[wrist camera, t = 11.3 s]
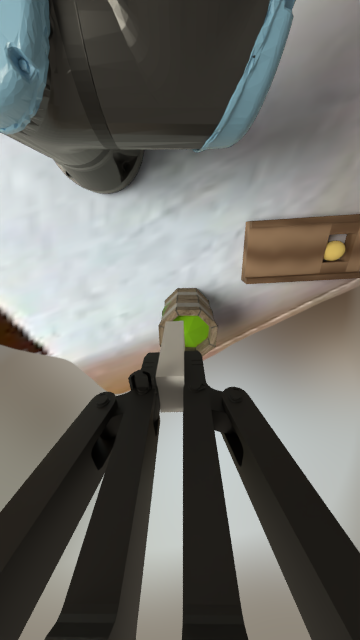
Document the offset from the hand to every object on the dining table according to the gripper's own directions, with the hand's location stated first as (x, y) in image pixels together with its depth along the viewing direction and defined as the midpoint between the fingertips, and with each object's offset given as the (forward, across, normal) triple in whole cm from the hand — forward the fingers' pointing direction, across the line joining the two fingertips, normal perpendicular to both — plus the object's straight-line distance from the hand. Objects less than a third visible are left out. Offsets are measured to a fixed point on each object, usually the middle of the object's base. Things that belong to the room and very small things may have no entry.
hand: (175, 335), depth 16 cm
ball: (+25, +29, +2) cm, 38 cm away
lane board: (+26, +24, +3) cm, 36 cm away
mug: (+27, 0, -11) cm, 29 cm away
